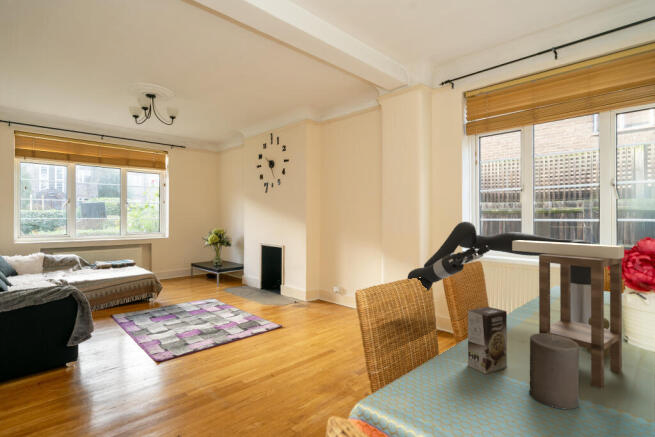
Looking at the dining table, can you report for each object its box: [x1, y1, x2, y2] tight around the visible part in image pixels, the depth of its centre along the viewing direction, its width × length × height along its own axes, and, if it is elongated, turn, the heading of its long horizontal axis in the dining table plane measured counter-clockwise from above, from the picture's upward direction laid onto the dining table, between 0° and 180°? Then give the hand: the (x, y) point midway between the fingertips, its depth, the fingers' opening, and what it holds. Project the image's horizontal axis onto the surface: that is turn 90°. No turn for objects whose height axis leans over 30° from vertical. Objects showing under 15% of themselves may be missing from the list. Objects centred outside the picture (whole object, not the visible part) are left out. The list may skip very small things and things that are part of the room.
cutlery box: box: [512, 240, 625, 259], centre depth 95 cm, size 4×26×3 cm, turn 35°
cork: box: [586, 317, 610, 358], centre depth 103 cm, size 6×6×11 cm
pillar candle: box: [528, 333, 580, 410], centre depth 78 cm, size 10×10×15 cm
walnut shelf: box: [538, 253, 623, 390], centre depth 92 cm, size 16×14×32 cm
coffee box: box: [467, 306, 508, 375], centre depth 95 cm, size 9×6×16 cm
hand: (481, 248), depth 120 cm, fingers open, 8 cm apart
